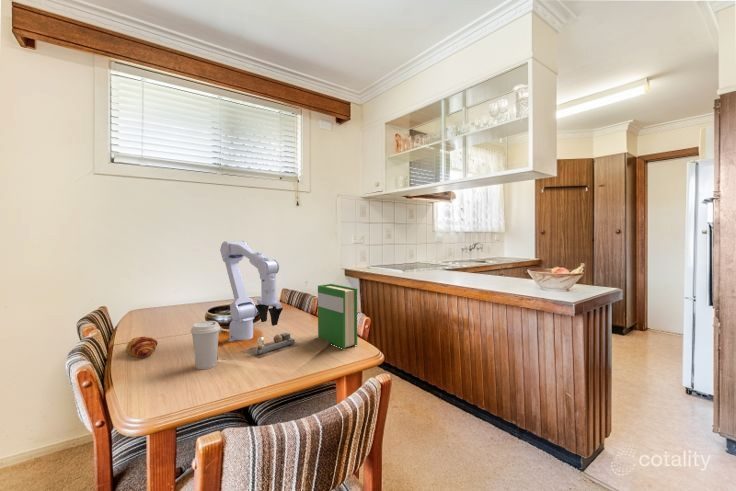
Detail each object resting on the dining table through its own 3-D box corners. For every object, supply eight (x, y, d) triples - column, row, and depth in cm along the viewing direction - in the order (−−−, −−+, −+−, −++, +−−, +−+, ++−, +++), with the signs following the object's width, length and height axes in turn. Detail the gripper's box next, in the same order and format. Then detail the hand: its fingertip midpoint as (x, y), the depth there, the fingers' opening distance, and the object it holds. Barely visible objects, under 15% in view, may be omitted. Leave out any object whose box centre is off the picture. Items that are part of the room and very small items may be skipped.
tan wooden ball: (271, 344, 135) (271, 335, 135) (276, 341, 138) (276, 333, 138) (279, 345, 134) (279, 336, 134) (284, 342, 137) (284, 333, 137)
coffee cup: (201, 373, 110) (200, 329, 109) (185, 367, 115) (184, 325, 114) (226, 363, 118) (226, 322, 117) (211, 358, 123) (210, 319, 122)
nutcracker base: (283, 340, 143) (283, 331, 143) (301, 346, 135) (301, 336, 135) (241, 354, 127) (241, 343, 127) (258, 361, 120) (258, 350, 120)
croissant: (129, 355, 136) (118, 340, 133) (154, 339, 142) (143, 324, 139) (138, 370, 120) (124, 353, 117) (165, 351, 126) (153, 335, 123)
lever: (291, 342, 136) (291, 327, 136) (294, 344, 135) (294, 328, 135) (256, 353, 124) (256, 337, 124) (259, 355, 123) (259, 338, 122)
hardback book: (357, 345, 136) (357, 288, 135) (343, 350, 131) (343, 290, 130) (331, 336, 149) (331, 283, 148) (318, 339, 144) (317, 285, 143)
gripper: (250, 289, 134) (250, 322, 135) (270, 293, 125) (270, 329, 125) (265, 287, 140) (265, 318, 140) (285, 291, 130) (286, 325, 131)
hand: (269, 323), depth 133 cm, fingers open, 7 cm apart
